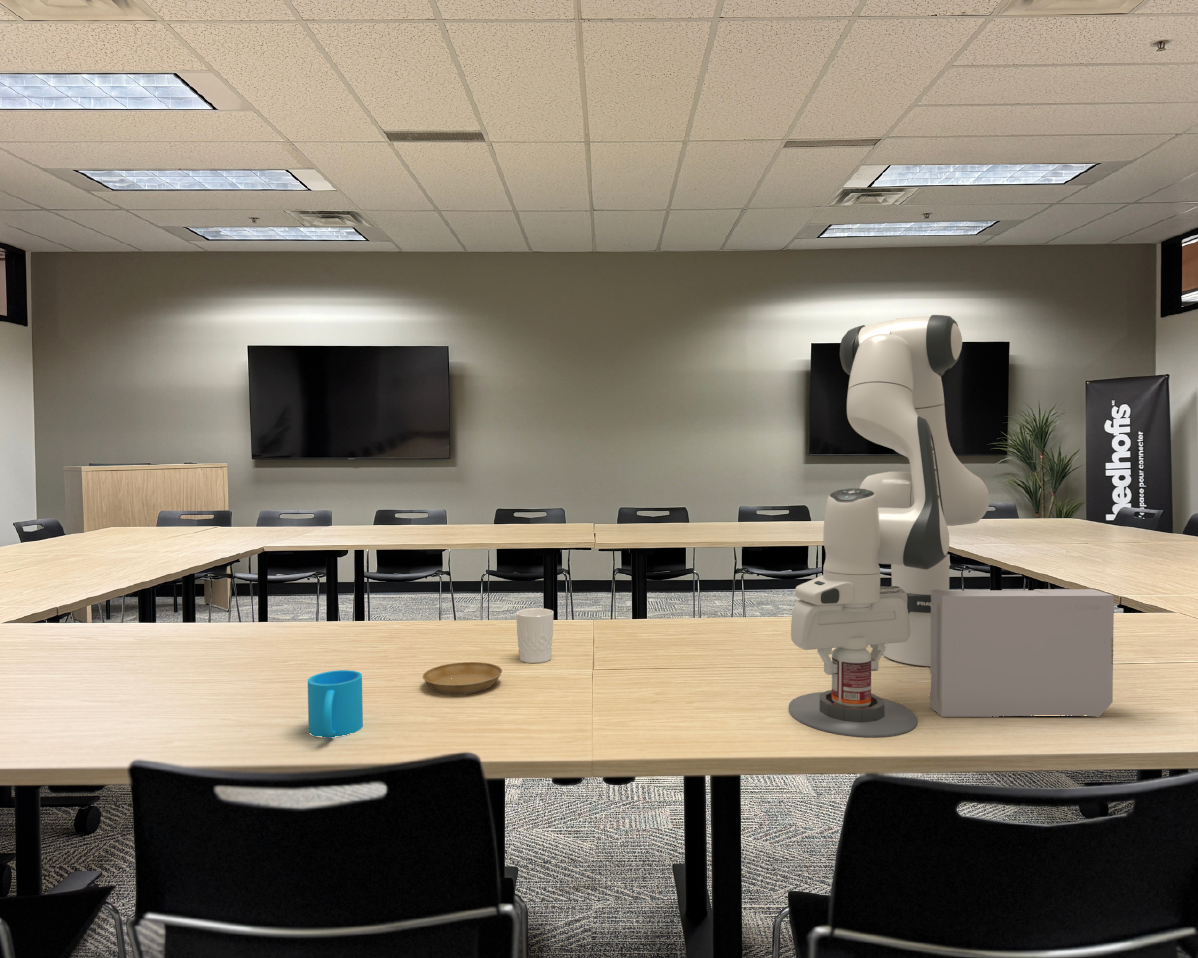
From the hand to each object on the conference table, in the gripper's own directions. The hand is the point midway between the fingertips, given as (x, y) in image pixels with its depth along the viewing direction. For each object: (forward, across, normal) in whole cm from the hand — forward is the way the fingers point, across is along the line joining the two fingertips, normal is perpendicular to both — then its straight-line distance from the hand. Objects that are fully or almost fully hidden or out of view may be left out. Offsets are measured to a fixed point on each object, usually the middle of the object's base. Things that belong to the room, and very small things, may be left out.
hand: (851, 671), depth 121 cm
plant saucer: (+8, +61, -33) cm, 70 cm away
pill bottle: (+5, 0, 0) cm, 5 cm away
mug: (+7, +82, -14) cm, 83 cm away
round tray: (+7, 0, 0) cm, 7 cm away
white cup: (+7, +45, -47) cm, 65 cm away
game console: (+7, -27, +6) cm, 29 cm away
